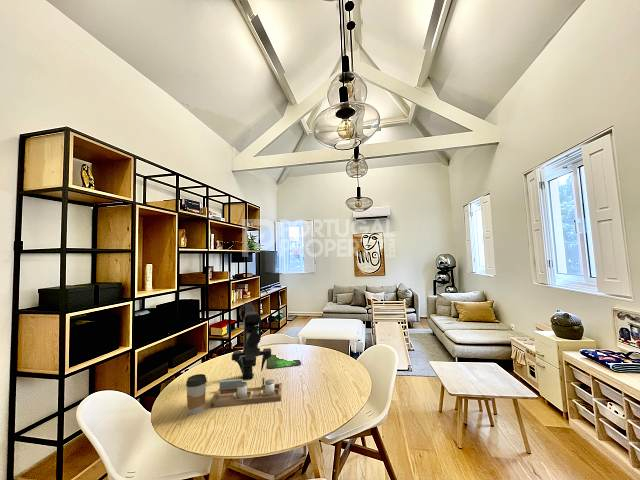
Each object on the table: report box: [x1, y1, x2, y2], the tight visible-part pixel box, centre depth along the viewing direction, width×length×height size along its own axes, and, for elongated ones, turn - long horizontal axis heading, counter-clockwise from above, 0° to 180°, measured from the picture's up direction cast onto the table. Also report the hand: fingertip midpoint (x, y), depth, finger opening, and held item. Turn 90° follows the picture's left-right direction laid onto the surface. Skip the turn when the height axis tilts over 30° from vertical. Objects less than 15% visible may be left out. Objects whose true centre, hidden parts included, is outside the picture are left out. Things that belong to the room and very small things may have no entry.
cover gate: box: [219, 378, 243, 389], centre depth 133 cm, size 2×11×4 cm, turn 97°
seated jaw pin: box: [237, 381, 248, 399], centre depth 124 cm, size 4×4×7 cm
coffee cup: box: [185, 373, 207, 416], centre depth 115 cm, size 8×8×15 cm
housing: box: [210, 377, 283, 408], centre depth 126 cm, size 16×31×6 cm, turn 97°
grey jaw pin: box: [264, 379, 275, 397], centre depth 126 cm, size 4×4×7 cm
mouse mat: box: [266, 354, 302, 370], centre depth 176 cm, size 27×22×1 cm
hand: (252, 372), depth 128 cm, fingers open, 9 cm apart
